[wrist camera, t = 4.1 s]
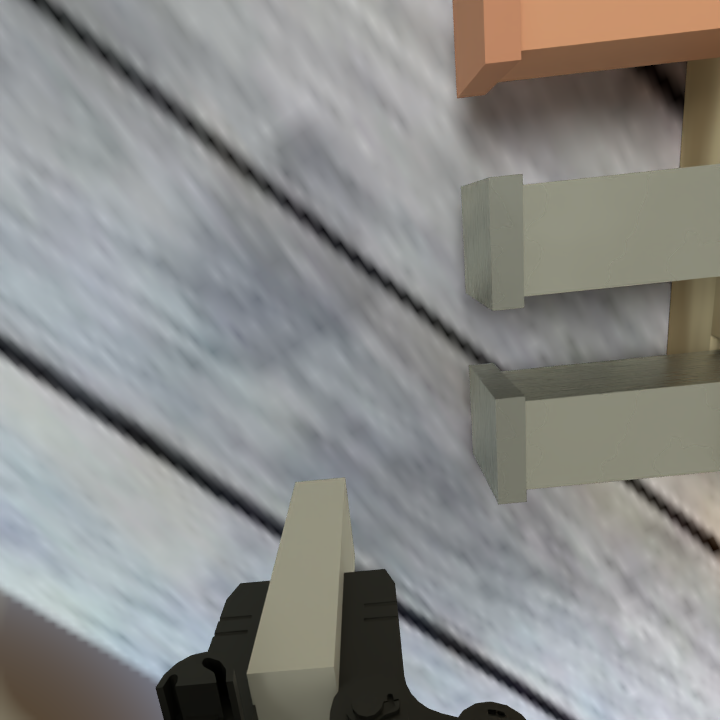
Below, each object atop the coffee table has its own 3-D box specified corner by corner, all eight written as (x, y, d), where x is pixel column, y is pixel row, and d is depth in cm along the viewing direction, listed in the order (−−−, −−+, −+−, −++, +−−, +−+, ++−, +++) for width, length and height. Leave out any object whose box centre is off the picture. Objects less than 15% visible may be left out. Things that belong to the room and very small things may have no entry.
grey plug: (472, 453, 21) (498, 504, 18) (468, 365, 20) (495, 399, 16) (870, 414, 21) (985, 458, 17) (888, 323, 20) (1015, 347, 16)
